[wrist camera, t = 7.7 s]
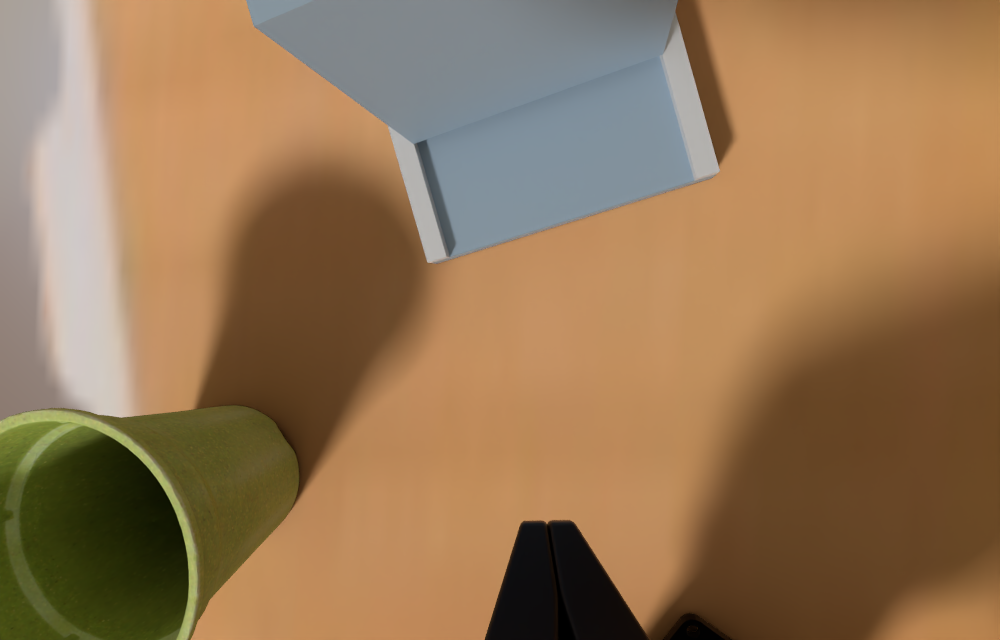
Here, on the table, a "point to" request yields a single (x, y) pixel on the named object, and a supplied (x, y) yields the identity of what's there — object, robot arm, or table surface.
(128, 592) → the plant pot
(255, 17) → the jaw
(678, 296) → the table surface
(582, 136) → the light blue base plate
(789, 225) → the table surface
